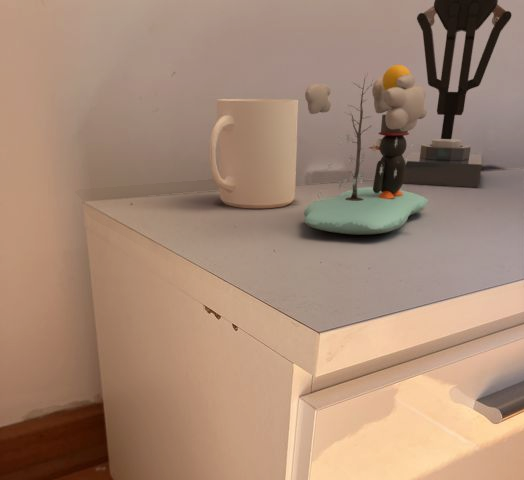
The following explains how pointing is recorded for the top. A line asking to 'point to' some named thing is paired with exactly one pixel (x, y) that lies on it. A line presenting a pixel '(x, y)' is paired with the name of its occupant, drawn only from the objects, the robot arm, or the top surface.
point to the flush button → (446, 143)
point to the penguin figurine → (388, 168)
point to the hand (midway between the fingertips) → (446, 138)
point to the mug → (255, 152)
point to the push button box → (443, 166)
